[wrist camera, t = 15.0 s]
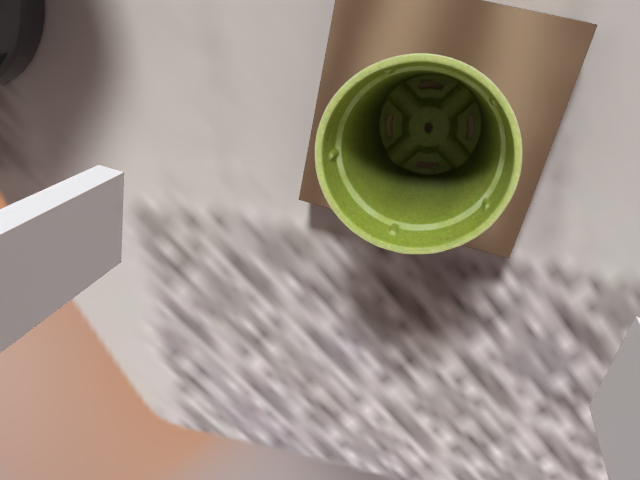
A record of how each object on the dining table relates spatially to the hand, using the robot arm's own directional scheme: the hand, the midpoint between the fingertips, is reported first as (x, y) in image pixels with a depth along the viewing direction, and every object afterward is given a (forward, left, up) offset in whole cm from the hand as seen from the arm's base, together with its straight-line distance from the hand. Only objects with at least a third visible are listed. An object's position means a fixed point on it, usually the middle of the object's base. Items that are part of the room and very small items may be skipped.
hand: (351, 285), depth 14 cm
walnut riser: (0, 0, -25) cm, 25 cm away
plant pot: (0, 0, -22) cm, 22 cm away
